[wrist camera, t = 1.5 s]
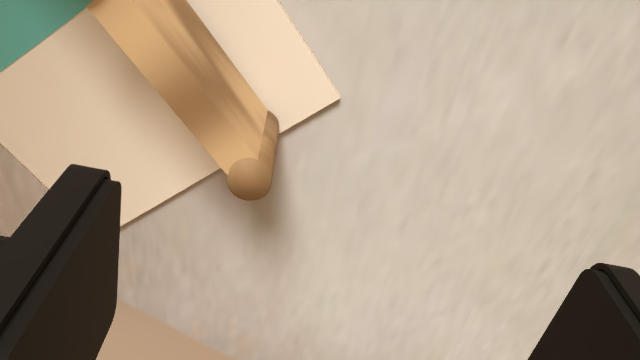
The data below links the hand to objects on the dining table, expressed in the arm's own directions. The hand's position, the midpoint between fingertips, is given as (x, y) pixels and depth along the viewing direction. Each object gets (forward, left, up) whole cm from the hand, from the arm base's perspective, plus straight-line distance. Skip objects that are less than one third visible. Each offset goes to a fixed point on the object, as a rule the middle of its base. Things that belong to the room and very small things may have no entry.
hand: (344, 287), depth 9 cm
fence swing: (-1, -5, -17) cm, 18 cm away
